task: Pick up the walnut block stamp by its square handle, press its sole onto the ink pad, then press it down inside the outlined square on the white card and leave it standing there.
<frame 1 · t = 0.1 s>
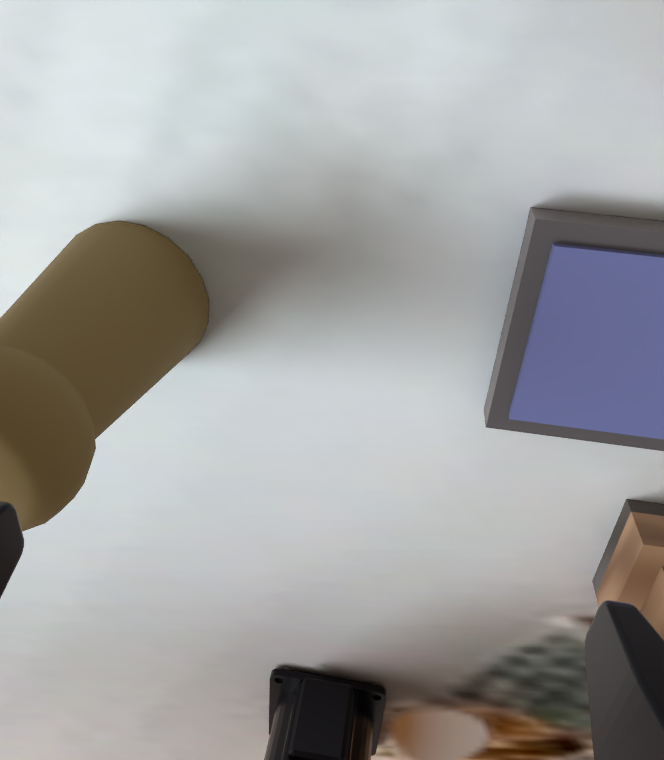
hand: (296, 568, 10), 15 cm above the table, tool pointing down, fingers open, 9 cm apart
cork: (135, 295, 25), on the table
ink pad: (619, 331, 22), on the table
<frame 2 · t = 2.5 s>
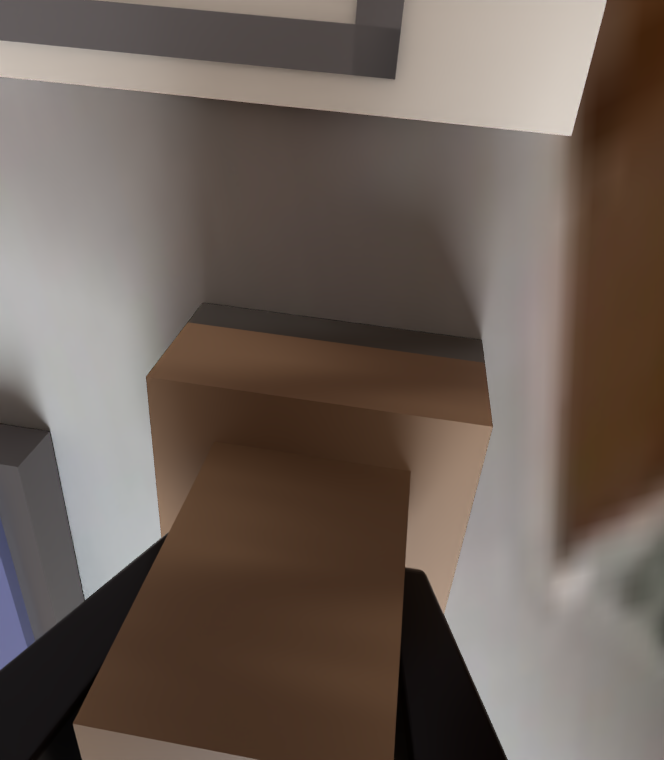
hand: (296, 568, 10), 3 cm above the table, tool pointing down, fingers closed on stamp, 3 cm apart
stamp: (329, 434, 12), on the table, touching gripper
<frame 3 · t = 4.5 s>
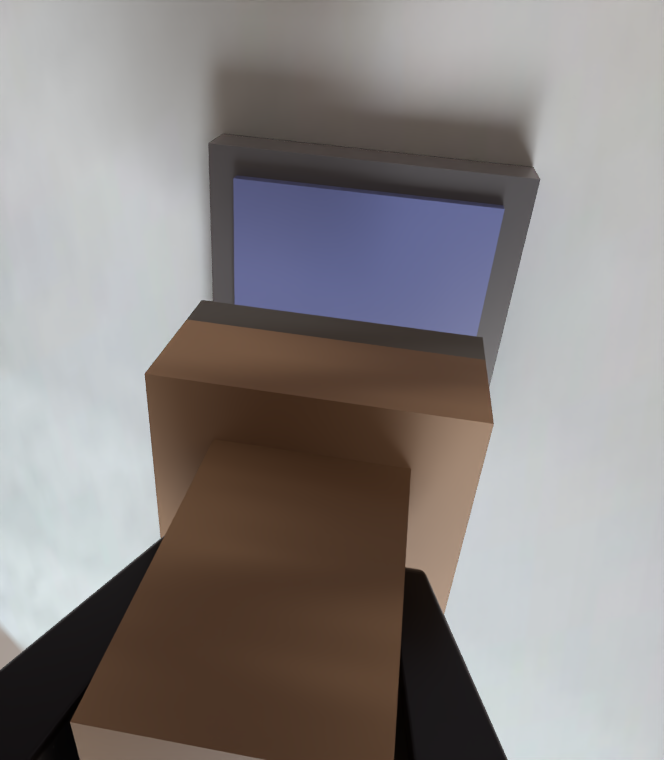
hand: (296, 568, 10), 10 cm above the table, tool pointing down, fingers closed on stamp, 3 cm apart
stamp: (329, 432, 12), point 7 cm above the table, touching gripper
ink pad: (359, 293, 18), on the table
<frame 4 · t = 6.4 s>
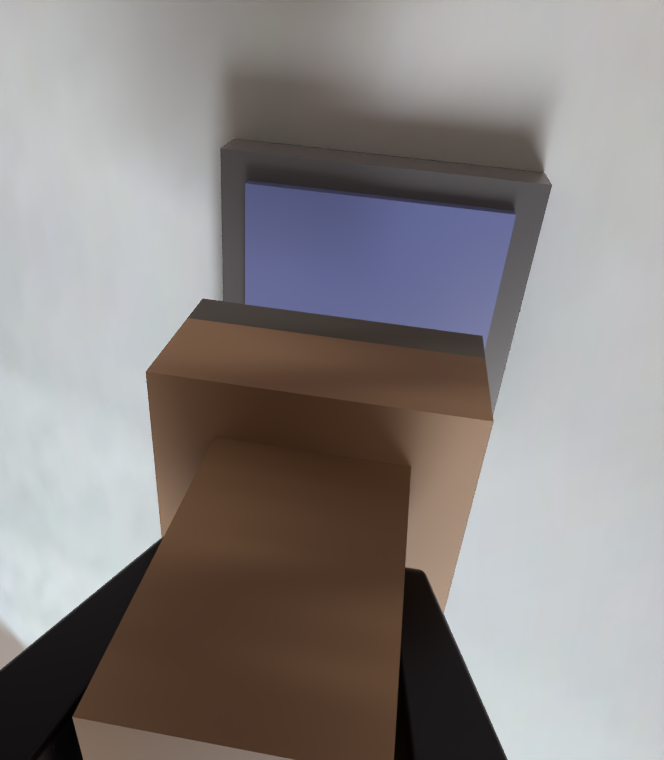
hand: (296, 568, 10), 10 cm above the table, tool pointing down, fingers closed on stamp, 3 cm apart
stamp: (329, 430, 12), point 7 cm above the table, touching gripper
ink pad: (369, 298, 18), on the table
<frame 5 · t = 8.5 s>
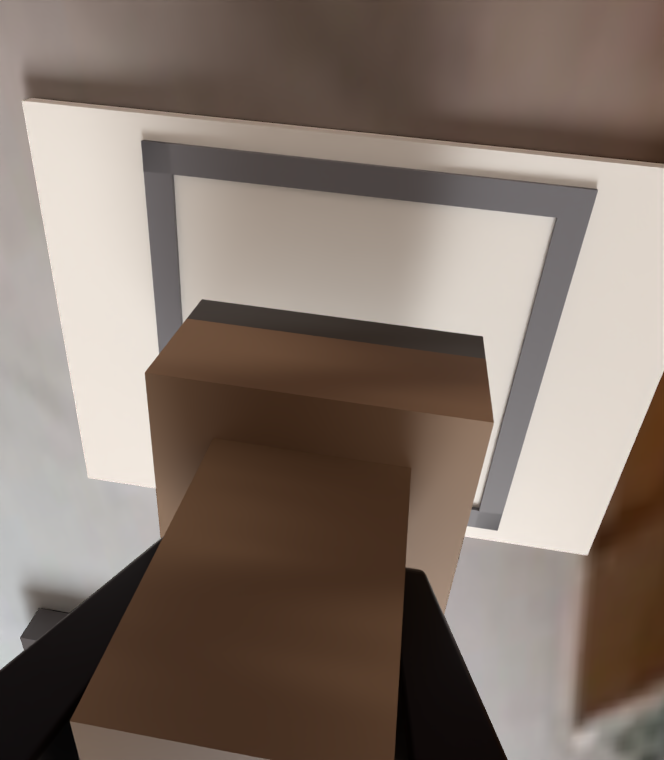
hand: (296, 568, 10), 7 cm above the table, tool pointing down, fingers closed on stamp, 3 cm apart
print card: (346, 351, 15), on the table
stamp: (329, 431, 12), point 3 cm above the table, touching gripper
ink pad: (156, 693, 24), on the table
when the fingers open (4 cm above the table, at t = 10.2 s): stamp stays where it is, resting on print card.
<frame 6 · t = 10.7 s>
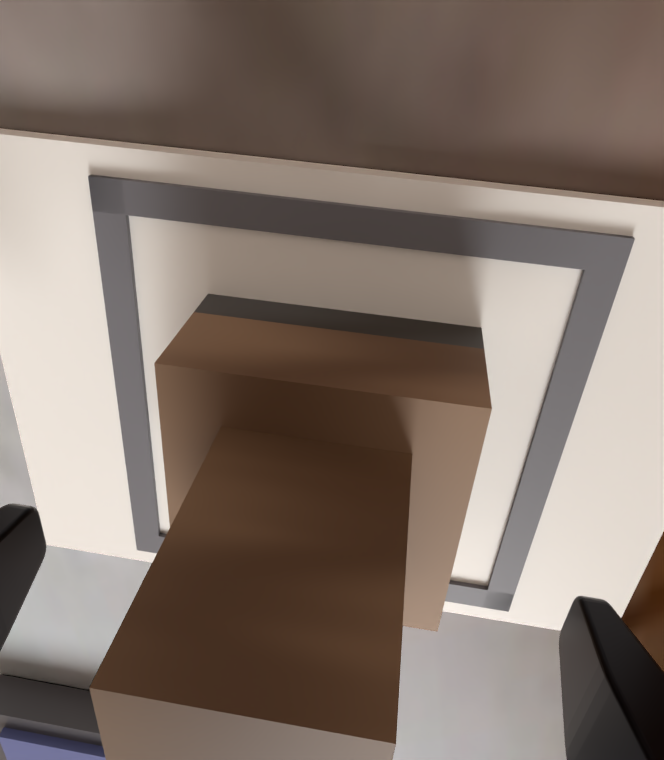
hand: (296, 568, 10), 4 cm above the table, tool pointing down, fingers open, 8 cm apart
print card: (335, 413, 13), on the table
stamp: (332, 422, 13), resting on print card
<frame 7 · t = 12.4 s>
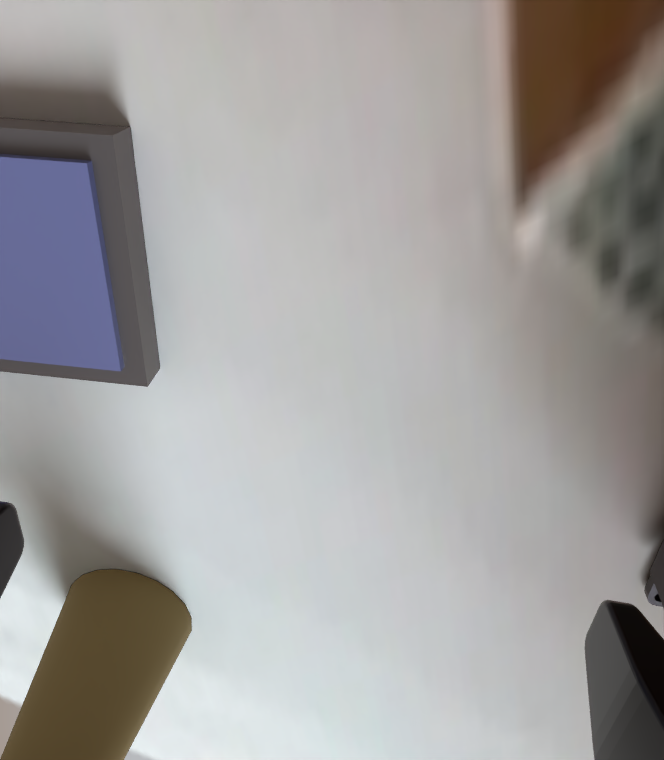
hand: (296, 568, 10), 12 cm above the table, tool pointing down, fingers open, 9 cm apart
cork: (131, 609, 30), on the table
ink pad: (26, 250, 20), on the table
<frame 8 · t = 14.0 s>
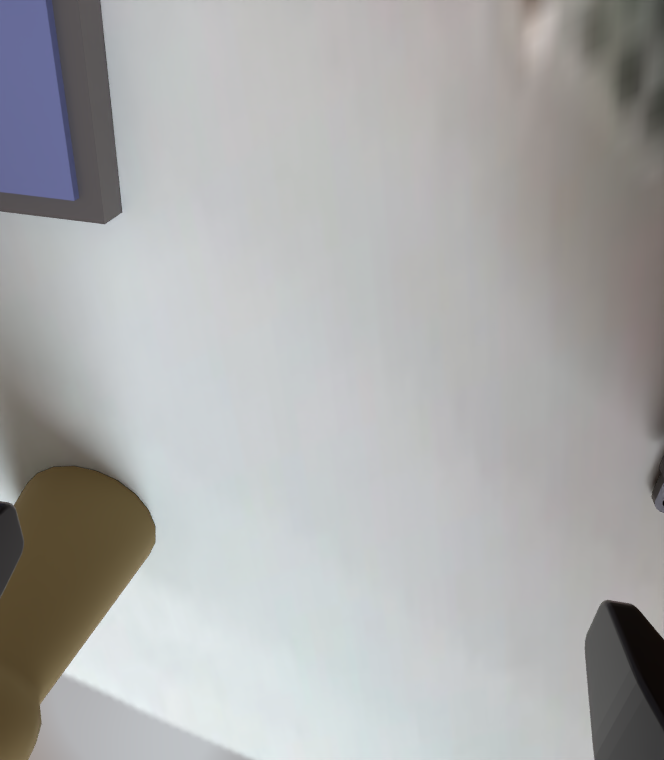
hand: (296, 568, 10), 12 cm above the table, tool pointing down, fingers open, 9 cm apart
cork: (91, 516, 28), on the table
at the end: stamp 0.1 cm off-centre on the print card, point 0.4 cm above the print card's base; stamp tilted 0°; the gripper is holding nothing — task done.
